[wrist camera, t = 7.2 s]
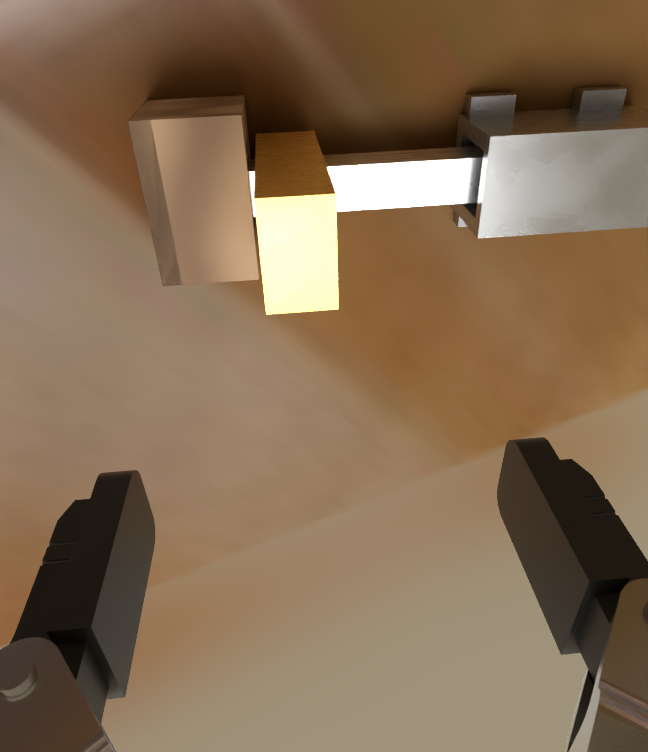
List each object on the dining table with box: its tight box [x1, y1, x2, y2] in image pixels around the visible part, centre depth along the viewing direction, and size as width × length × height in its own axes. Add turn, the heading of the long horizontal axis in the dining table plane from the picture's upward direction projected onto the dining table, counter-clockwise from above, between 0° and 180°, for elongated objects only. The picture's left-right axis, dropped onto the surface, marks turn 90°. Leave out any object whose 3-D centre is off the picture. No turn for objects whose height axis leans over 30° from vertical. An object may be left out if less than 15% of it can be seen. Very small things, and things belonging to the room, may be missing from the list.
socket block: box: [127, 95, 259, 286], centre depth 30 cm, size 5×8×5 cm, turn 2°
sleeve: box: [450, 86, 648, 238], centre depth 31 cm, size 10×7×5 cm
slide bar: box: [247, 131, 484, 315], centre depth 27 cm, size 16×5×11 cm, turn 92°
